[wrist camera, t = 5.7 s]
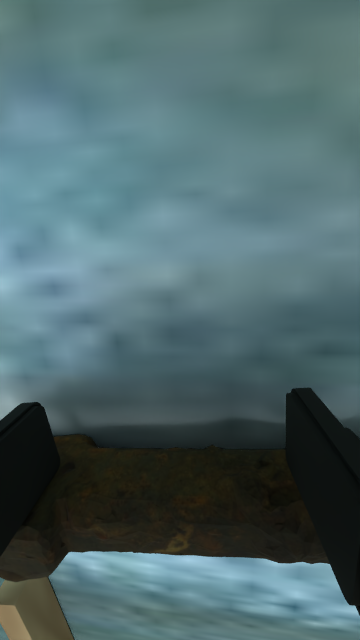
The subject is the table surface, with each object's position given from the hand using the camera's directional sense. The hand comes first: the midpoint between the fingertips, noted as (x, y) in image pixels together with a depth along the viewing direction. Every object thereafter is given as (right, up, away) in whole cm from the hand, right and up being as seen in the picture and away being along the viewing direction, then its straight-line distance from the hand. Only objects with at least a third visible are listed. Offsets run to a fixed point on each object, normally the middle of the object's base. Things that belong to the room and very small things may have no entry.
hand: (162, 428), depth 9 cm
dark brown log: (0, -3, +3) cm, 4 cm away
